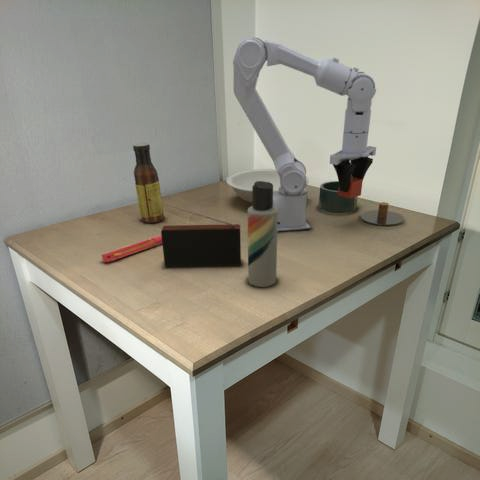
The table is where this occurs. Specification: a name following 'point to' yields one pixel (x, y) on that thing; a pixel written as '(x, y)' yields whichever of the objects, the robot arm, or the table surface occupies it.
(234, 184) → the soup bowl
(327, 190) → the pot
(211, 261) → the radio
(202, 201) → the table surface
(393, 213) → the lid
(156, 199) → the sauce bottle
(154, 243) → the long red bar
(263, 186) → the lotion bottle
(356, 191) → the block
